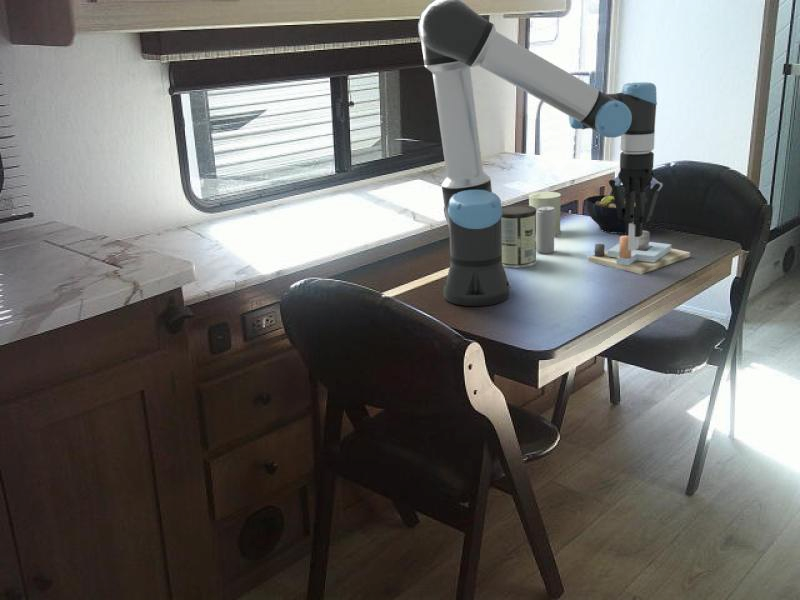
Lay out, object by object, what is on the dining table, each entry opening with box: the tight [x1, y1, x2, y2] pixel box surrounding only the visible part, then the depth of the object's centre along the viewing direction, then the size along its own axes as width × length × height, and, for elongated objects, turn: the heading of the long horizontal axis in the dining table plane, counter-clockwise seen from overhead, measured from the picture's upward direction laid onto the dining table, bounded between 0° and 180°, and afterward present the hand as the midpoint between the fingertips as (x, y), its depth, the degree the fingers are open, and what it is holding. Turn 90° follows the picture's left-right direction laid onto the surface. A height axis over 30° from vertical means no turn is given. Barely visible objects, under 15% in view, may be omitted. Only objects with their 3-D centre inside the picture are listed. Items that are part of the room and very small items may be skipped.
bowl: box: [585, 195, 648, 234], centre depth 230 cm, size 17×17×10 cm
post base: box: [588, 230, 691, 275], centre depth 202 cm, size 20×16×7 cm
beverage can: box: [536, 206, 555, 255], centre depth 211 cm, size 5×5×12 cm
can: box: [528, 191, 562, 238], centre depth 229 cm, size 9×9×12 cm
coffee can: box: [501, 204, 537, 269], centre depth 204 cm, size 10×10×14 cm
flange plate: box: [607, 235, 672, 265], centre depth 200 cm, size 17×12×7 cm
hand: (633, 249), depth 193 cm, fingers closed
